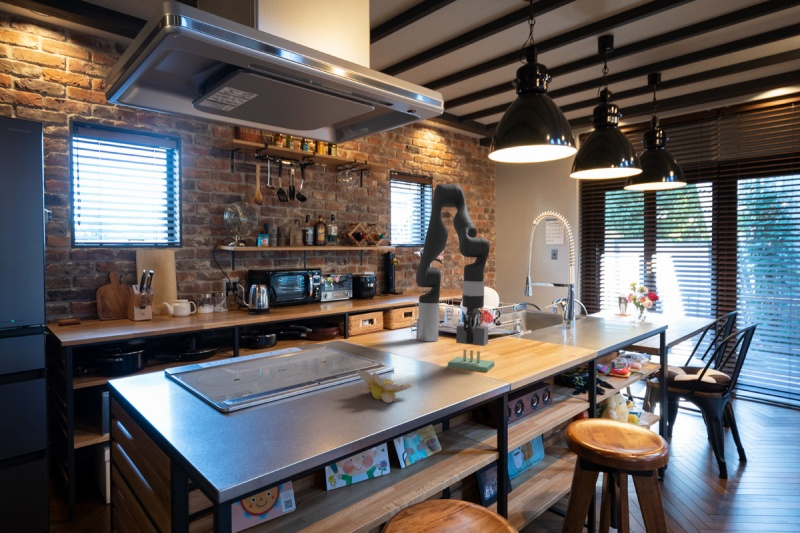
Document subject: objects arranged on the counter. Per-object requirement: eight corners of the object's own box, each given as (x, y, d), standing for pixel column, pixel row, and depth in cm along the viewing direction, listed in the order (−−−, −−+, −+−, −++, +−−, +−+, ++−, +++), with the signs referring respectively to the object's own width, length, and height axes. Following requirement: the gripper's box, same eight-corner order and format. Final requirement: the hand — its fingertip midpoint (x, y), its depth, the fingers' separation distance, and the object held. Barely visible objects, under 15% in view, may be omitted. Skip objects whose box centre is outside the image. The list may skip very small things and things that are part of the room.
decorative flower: (423, 394, 121) (415, 359, 119) (391, 413, 114) (383, 375, 112) (388, 385, 132) (381, 352, 131) (357, 401, 125) (350, 367, 124)
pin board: (447, 366, 158) (448, 351, 158) (457, 360, 167) (457, 346, 167) (486, 372, 152) (487, 355, 152) (494, 365, 161) (494, 350, 161)
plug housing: (456, 342, 159) (456, 326, 159) (460, 340, 164) (461, 324, 163) (483, 346, 155) (484, 328, 154) (487, 343, 159) (488, 326, 159)
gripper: (469, 292, 167) (468, 337, 167) (456, 294, 154) (455, 344, 154) (489, 293, 163) (487, 339, 164) (477, 296, 151) (476, 346, 151)
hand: (472, 341), depth 159 cm, fingers closed on plug housing, 5 cm apart
